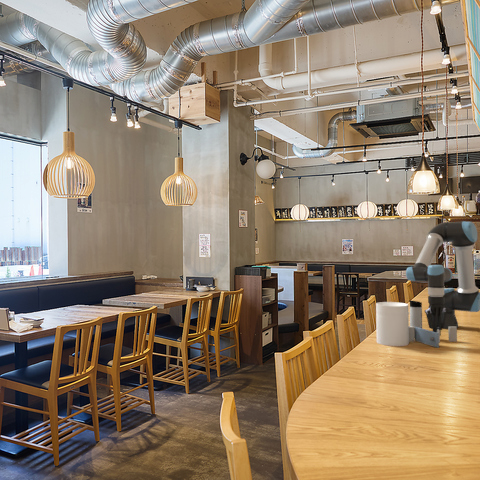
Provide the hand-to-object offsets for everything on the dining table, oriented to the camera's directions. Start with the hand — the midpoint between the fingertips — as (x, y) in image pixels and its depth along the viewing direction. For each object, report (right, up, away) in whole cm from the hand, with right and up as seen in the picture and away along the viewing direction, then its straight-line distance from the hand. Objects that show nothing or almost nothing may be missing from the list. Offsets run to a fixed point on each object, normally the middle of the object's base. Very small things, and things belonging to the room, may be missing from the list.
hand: (436, 342), depth 223 cm
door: (-5, -1, +2) cm, 6 cm away
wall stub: (+12, -1, +9) cm, 15 cm away
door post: (-9, -2, +10) cm, 14 cm away
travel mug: (-3, -2, +20) cm, 20 cm away
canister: (-20, -2, +7) cm, 21 cm away
